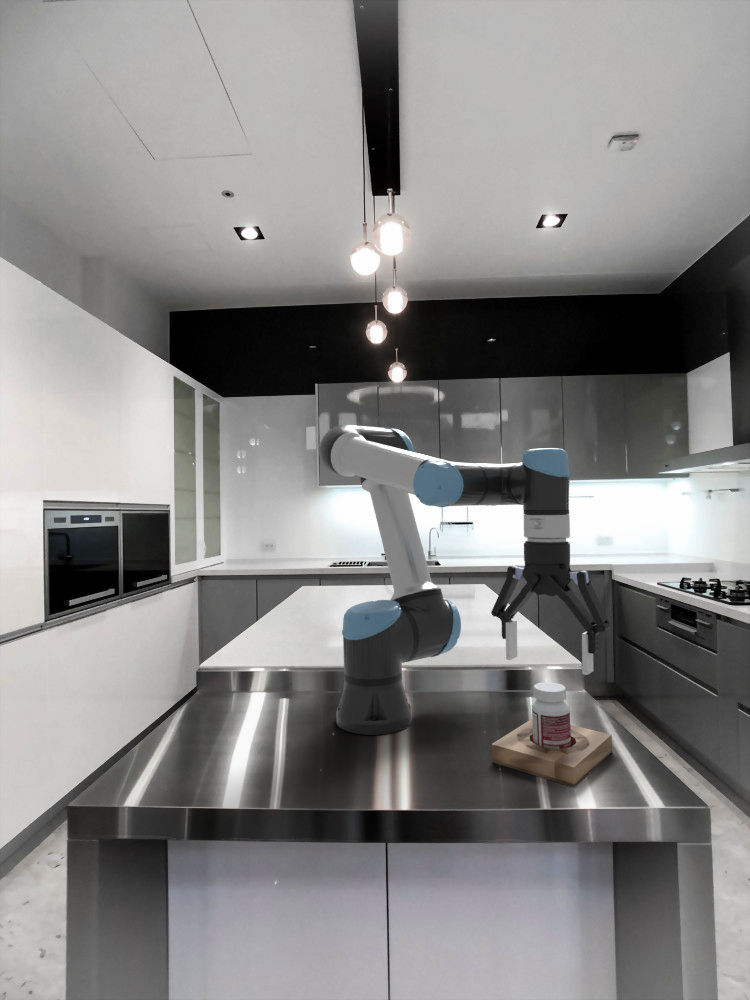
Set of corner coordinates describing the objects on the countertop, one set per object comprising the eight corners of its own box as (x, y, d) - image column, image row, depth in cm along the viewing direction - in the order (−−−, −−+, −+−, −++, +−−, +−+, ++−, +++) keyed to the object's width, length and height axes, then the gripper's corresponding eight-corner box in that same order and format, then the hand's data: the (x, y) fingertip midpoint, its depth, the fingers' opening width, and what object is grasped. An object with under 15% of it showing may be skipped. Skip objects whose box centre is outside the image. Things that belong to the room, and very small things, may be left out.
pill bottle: (579, 755, 96) (577, 687, 96) (554, 765, 93) (552, 695, 93) (550, 743, 101) (548, 678, 101) (525, 752, 98) (523, 685, 98)
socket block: (492, 762, 96) (491, 744, 96) (535, 732, 108) (535, 716, 108) (574, 787, 86) (573, 767, 86) (612, 752, 98) (611, 734, 98)
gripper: (471, 538, 103) (472, 657, 103) (614, 544, 87) (615, 685, 87) (492, 536, 109) (494, 648, 109) (630, 541, 92) (632, 673, 92)
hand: (548, 665), depth 98 cm, fingers open, 13 cm apart
